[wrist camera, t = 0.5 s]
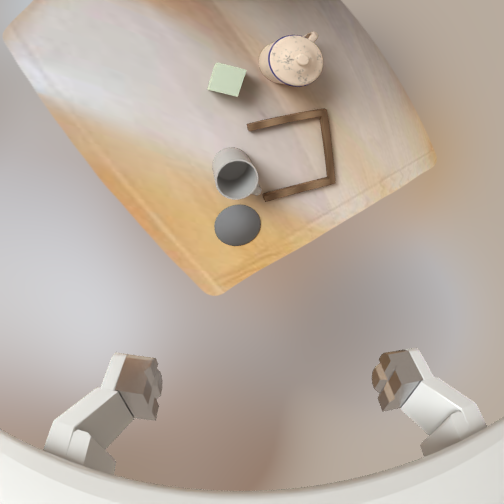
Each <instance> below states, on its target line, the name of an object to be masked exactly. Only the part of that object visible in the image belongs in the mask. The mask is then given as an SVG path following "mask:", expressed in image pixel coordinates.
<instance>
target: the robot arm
mask: <svg viewBox="0 0 504 504" xmlns="http://www.w3.org/2000/svg"><path fill="white" fill-rule="evenodd" d="M379 361H380V363H379V364H378V365H377V366H375V368H374V370H373V372H372V384H373V387H374V389H375V390H376V391H377V392H379V396H378V400H379V403H380V406H381V409H382V411H388V410H393V409H398V408H401V410H402V411H403V412H404V413H405V414H406V415H407V416H409V417H410V418H411V419H412V420H413V421H414V422H415V423H416V424H417V425H418V426H419V427H420V428H421V429H422V430H423V431H424V432H426V433H427V434H428V435H429V437H428V438H426V439H425V440H424V441H423V442H422V443H421V449H422V452H423V455H424V457H423V458H420V459H418V460H415V461H412V462H409V463H406V464H404V465H401V466H397V467H395V468H392V469H388V470H385V471H381V472H378V473H374V474H370V475H367V476H362V477H358V478H354V479H349V480H344V481H339V482H335V483H329V484H323V485H316V486H310V487H301V488H292V489H281V490H265V491H218V490H201V489H190V488H181V487H172V486H166V485H159V484H154V483H148V482H143V481H138V480H133V479H129V478H125V477H120V476H116V475H114V471H115V465H116V461H115V459H114V458H113V457H112V456H111V455H110V454H109V453H108V452H107V451H106V450H105V449H106V448H107V447H108V446H109V445H110V444H111V443H112V442H113V441H114V440H115V439H116V438H117V437H118V436H119V435H120V434H121V433H122V431H123V430H124V429H125V428H126V427H127V426H128V425H129V424H130V423H131V422H132V421H133V420H134V418H139V419H146V420H156V418H157V412H158V407H159V405H158V402H157V400H156V399H157V398H158V397H160V396H161V391H162V375H161V373H160V371H159V370H158V369H157V366H158V363H157V360H156V358H150V357H142V356H135V355H129V354H122V353H115V354H114V355H113V356H112V359H111V361H110V364H109V367H108V369H107V372H106V374H105V377H104V380H103V382H102V385H101V388H98V387H97V388H95V389H94V390H93V391H92V392H90V393H89V394H88V395H87V396H85V397H84V398H82V399H81V400H80V401H79V402H77V403H76V404H75V405H73V406H72V407H71V408H69V409H68V410H67V411H65V412H64V413H63V414H62V415H60V416H59V417H58V418H56V419H55V420H54V421H53V424H52V427H51V429H50V432H49V435H48V438H47V441H46V444H45V446H44V449H43V450H41V449H39V448H37V447H35V446H33V445H31V444H28V443H27V442H24V441H22V440H21V439H19V438H17V437H15V436H13V435H11V434H9V433H7V432H6V431H4V430H2V429H0V504H504V417H502V418H501V419H499V420H498V421H496V422H494V423H493V424H491V425H489V426H488V427H487V425H486V423H485V421H484V419H483V417H482V415H481V413H480V411H479V409H478V407H477V405H476V403H475V402H473V401H472V400H470V399H469V398H467V397H466V396H464V395H463V394H461V393H460V392H458V391H457V390H456V389H454V388H453V387H451V386H449V385H448V384H447V383H445V382H443V381H442V380H441V379H439V378H438V377H434V376H433V375H432V373H431V371H430V369H429V367H428V365H427V363H426V362H425V360H424V358H423V356H422V354H421V353H420V351H419V349H417V348H411V349H406V350H399V351H393V352H386V353H383V354H382V355H381V356H380V358H379Z"/></svg>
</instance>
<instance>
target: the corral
mask: <svg viewBox="0 0 504 504" xmlns="http://www.w3.org/2000/svg"><path fill="white" fill-rule="evenodd" d="M314 117H320V124H321V131H322V138H323V146H324V154H325V162H326V171H327V177H325V178H321V179H317V180H313V181H309V182H305V183H301V184H297V185H294V186H290V187H286V188H282V189H279V190H275V191H271V192H268V193H264V194H263V197H264V200H265V202H267V201H270V200H274V199H277V198H281V197H285V196H288V195H292V194H296V193H300V192H303V191H307V190H311V189H315V188H319V187H323V186H327V185H331V184H335V172H334V162H333V153H332V144H331V136H330V128H329V121H328V114H327V109H317V110H311V111H306V112H300V113H295V114H290V115H285V116H280V117H275V118H270V119H266V120H261V121H257V122H253V123H249V124H247V128H248V130H249V131H253V130H257V129H261V128H265V127H270V126H274V125H279V124H283V123H288V122H293V121H298V120H303V119H308V118H314Z"/></svg>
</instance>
